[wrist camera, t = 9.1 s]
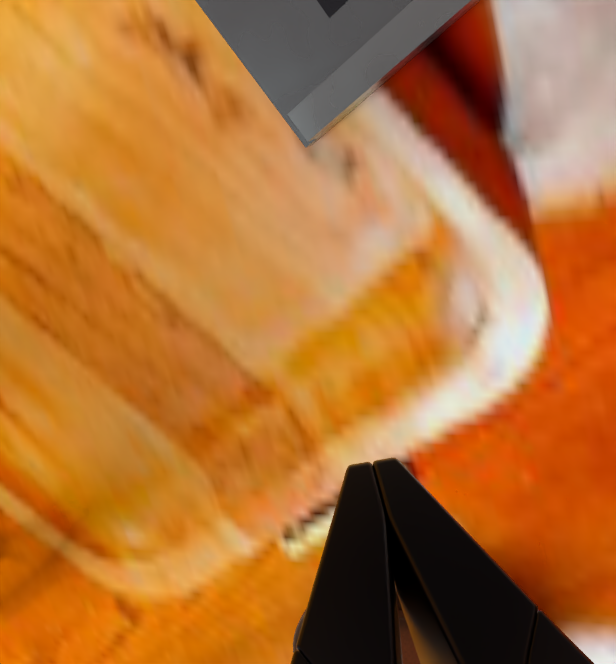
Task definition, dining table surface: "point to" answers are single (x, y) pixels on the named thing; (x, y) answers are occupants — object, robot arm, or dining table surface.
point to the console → (327, 49)
